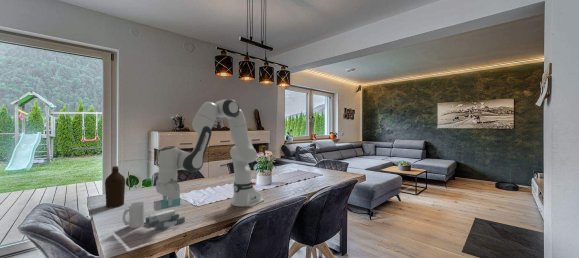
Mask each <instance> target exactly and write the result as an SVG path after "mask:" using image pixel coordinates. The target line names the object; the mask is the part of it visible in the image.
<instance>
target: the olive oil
mask: <svg viewBox="0 0 579 258" xmlns="http://www.w3.org/2000/svg"><path fill="white" fill-rule="evenodd" d="M111 169H112V170H111V173H110V174H109V175H108V176H107V177H106V178H105V180H104V181H105V182H104V187H105V188H104V191H105V192H104V193H105V207H106V208H107V209H108V208H110V209H111V208H119V207H121V206H124V205H125V190H126V178H125V176H124V175H122V174H121V173H120V172H119V166H118V165H114V166H112V167H111Z"/></svg>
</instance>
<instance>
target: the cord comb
mask: <svg viewBox="0 0 579 258" xmlns="http://www.w3.org/2000/svg"><path fill="white" fill-rule="evenodd" d="M185 219H186V217H185V216H181V217H180V214H179V213H175V214H174V215H171V219H170V220H166V221H162V222H159V219H155V220H152V221H150V223H149V216H146V217H145V223H146V224H147V225H148V226H150V227H152V228H153V229H154V230H156V231H159V230H162V229H165V228H169V227H173V226H176V225H178V224H182V223H185V222H186V220H185Z"/></svg>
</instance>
